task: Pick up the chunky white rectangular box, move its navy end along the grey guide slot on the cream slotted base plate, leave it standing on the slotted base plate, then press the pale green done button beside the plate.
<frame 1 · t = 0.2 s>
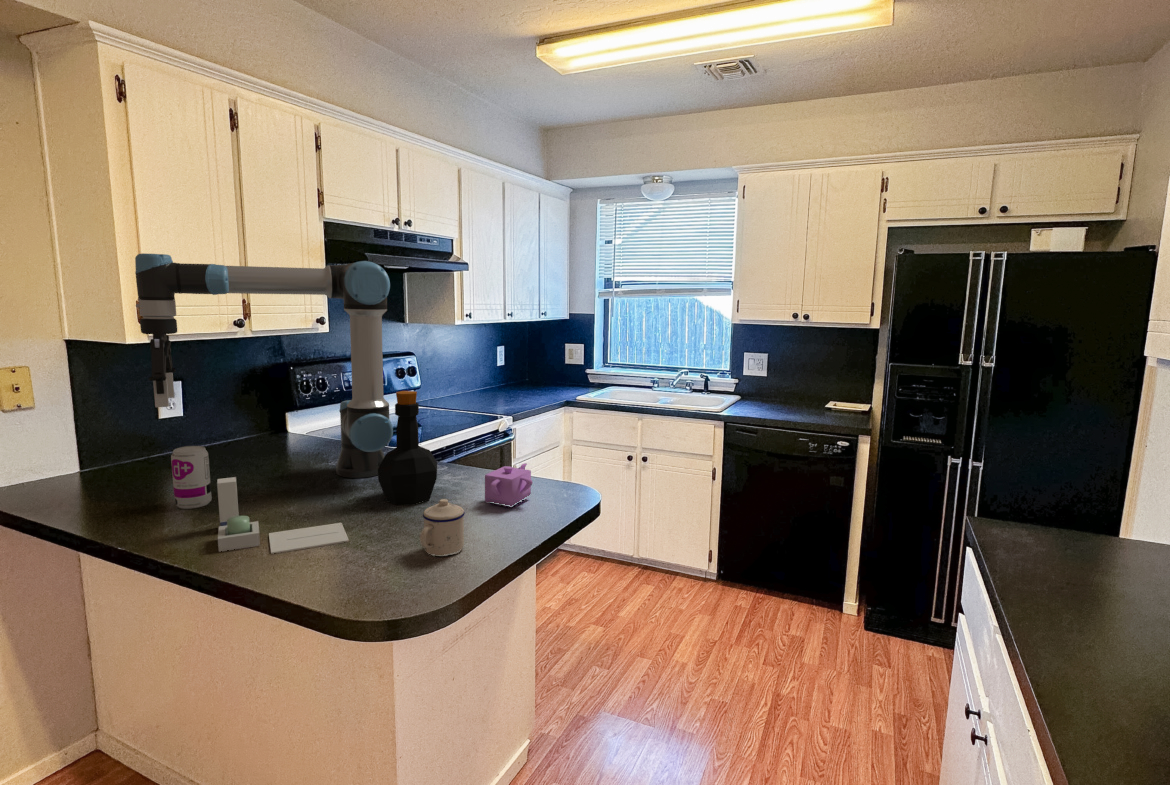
hand: (165, 402, 158), 28 cm above the countertop, fingers open, 13 cm apart
teacup with lid: (440, 552, 139), on the countertop
slotted base plate: (308, 538, 145), on the countertop
supplement can: (193, 505, 165), on the countertop
done button: (238, 527, 141), point 4 cm above the countertop, slide at 0.0 cm
button housing: (239, 542, 141), on the countertop
teapot: (511, 502, 173), on the countertop
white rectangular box: (230, 528, 149), on the countertop
bottle: (408, 498, 174), on the countertop
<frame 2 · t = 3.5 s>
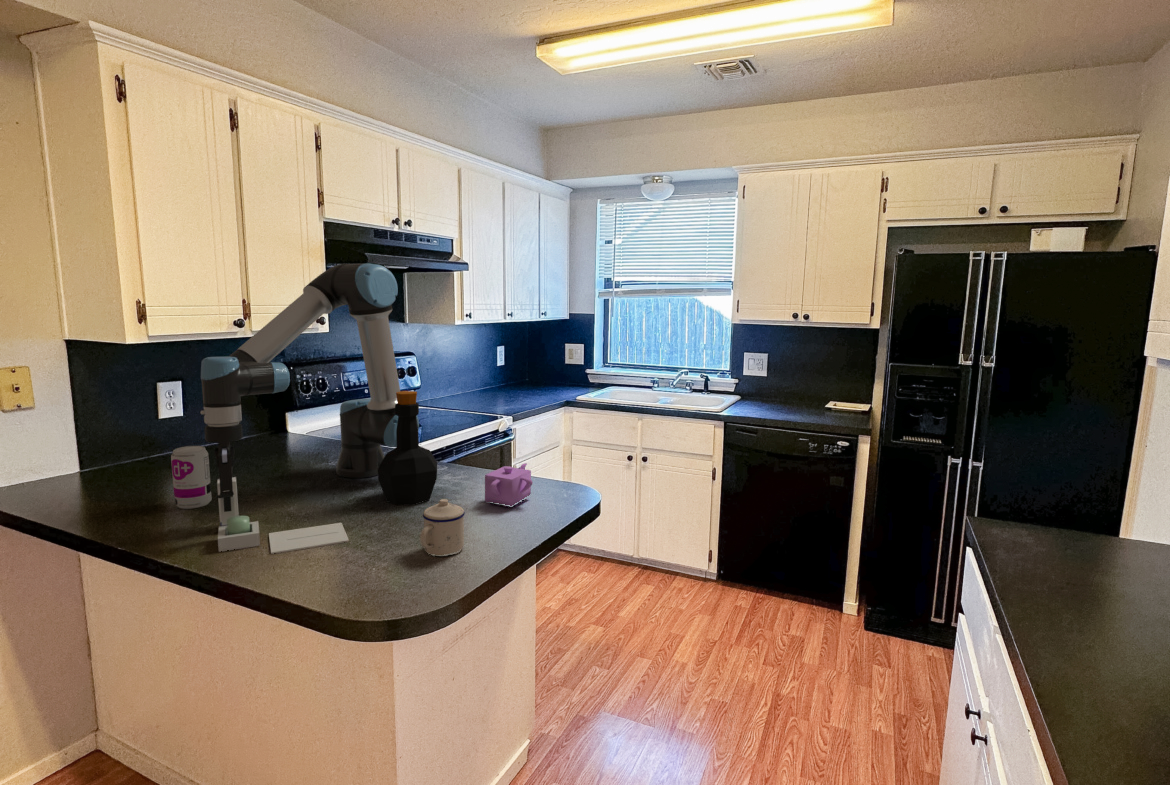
hand: (228, 518, 147), 3 cm above the countertop, fingers open, 8 cm apart
nothing on the countertop moved.
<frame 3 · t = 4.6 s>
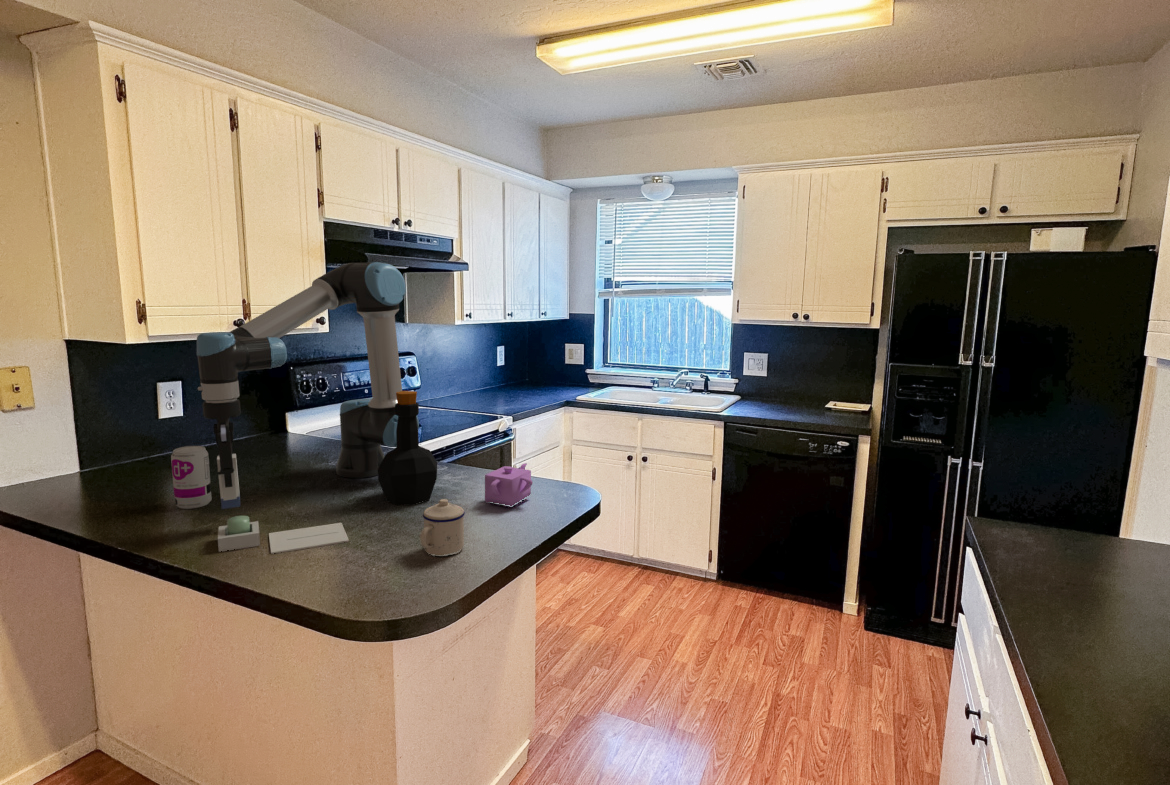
hand: (230, 496, 148), 8 cm above the countertop, fingers closed on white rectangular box, 4 cm apart
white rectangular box: (231, 505, 149), point 6 cm above the countertop, touching gripper
everything else where it was.
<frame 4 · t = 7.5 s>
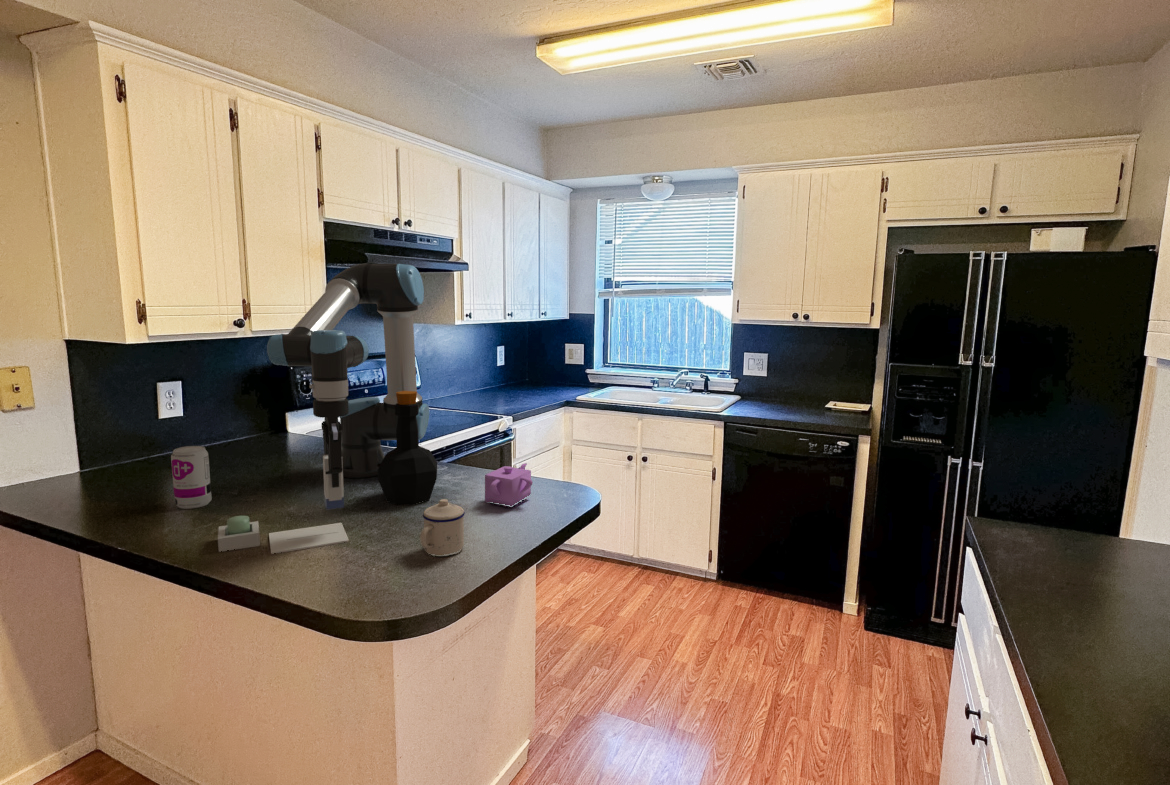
hand: (334, 496, 146), 9 cm above the countertop, fingers closed on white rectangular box, 4 cm apart
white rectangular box: (334, 506, 146), point 7 cm above the countertop, touching gripper
everything else where it was.
when the fingers open (2 cm above the countertop, at t = 10.4 s): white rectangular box stays where it is, resting on slotted base plate.
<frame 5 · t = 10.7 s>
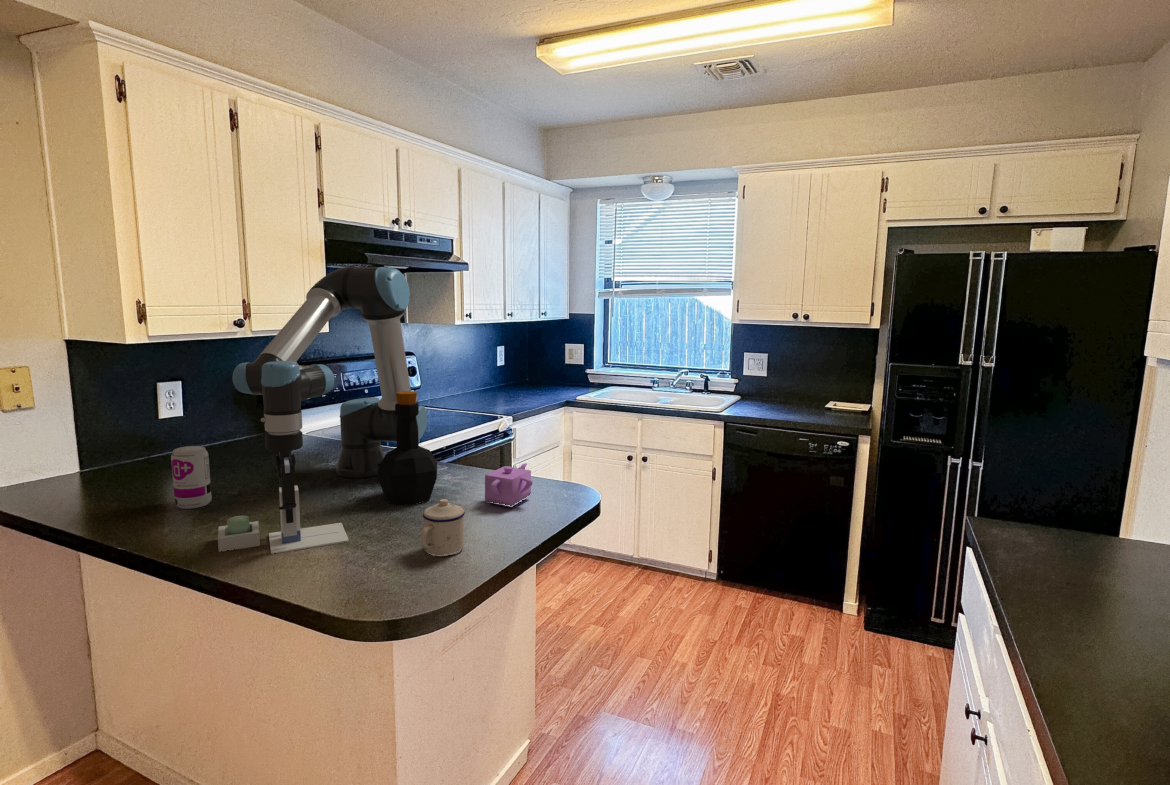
hand: (288, 529, 142), 3 cm above the countertop, fingers open, 7 cm apart
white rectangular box: (291, 539, 143), resting on slotted base plate
everything else where it was.
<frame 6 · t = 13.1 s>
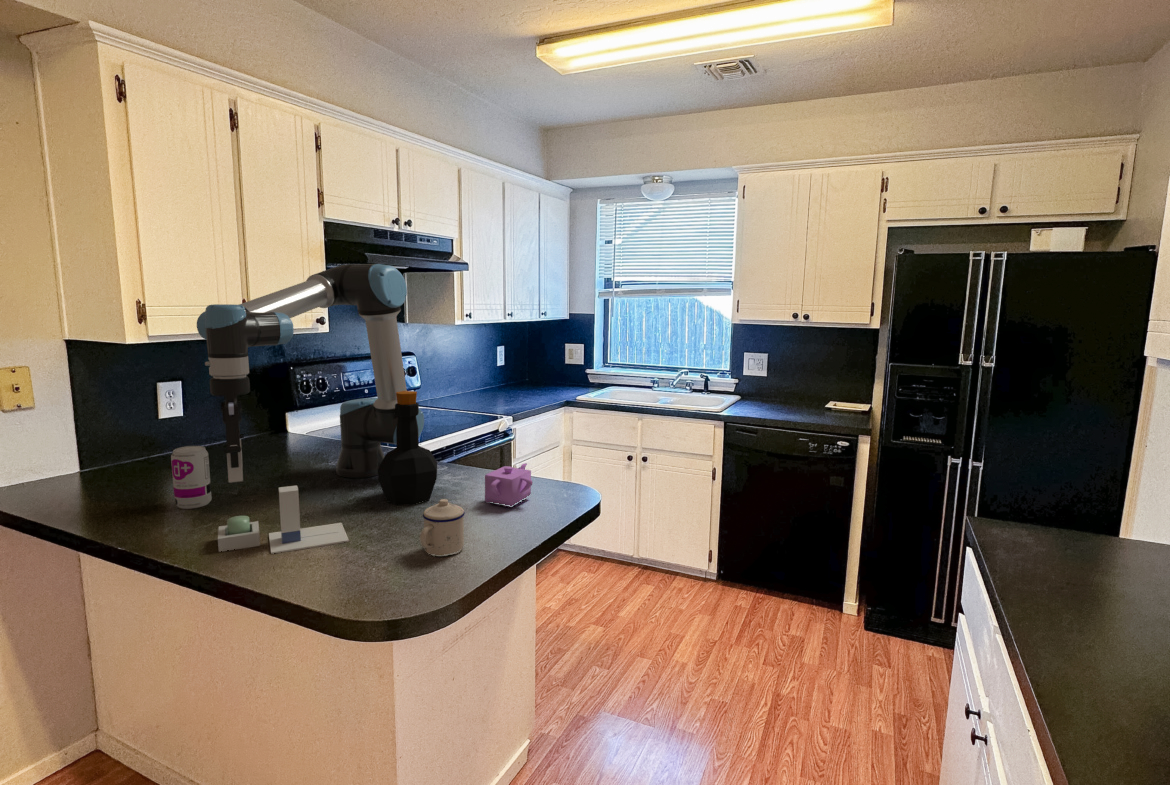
hand: (235, 474, 139), 16 cm above the countertop, fingers open, 11 cm apart
nothing on the countertop moved.
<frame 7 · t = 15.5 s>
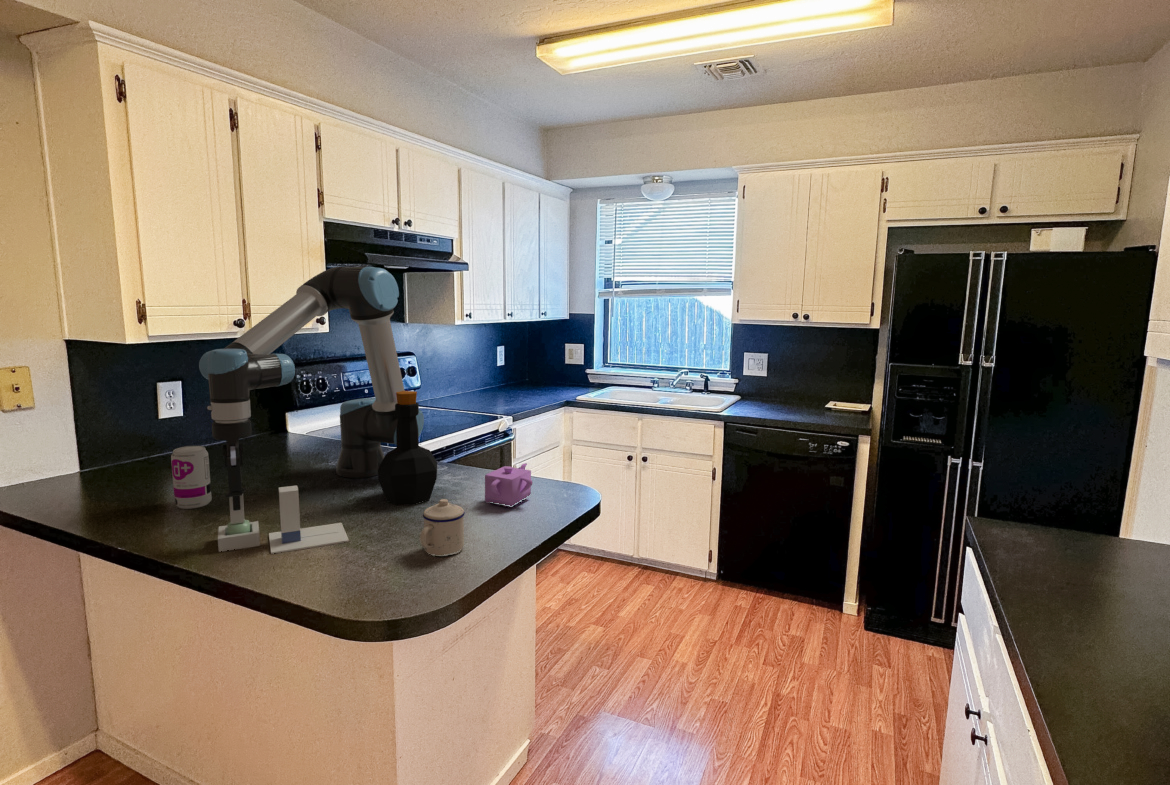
hand: (237, 522, 141), 5 cm above the countertop, fingers closed
done button: (238, 531, 141), point 3 cm above the countertop, slide at -0.9 cm, touching gripper
everything else where it was.
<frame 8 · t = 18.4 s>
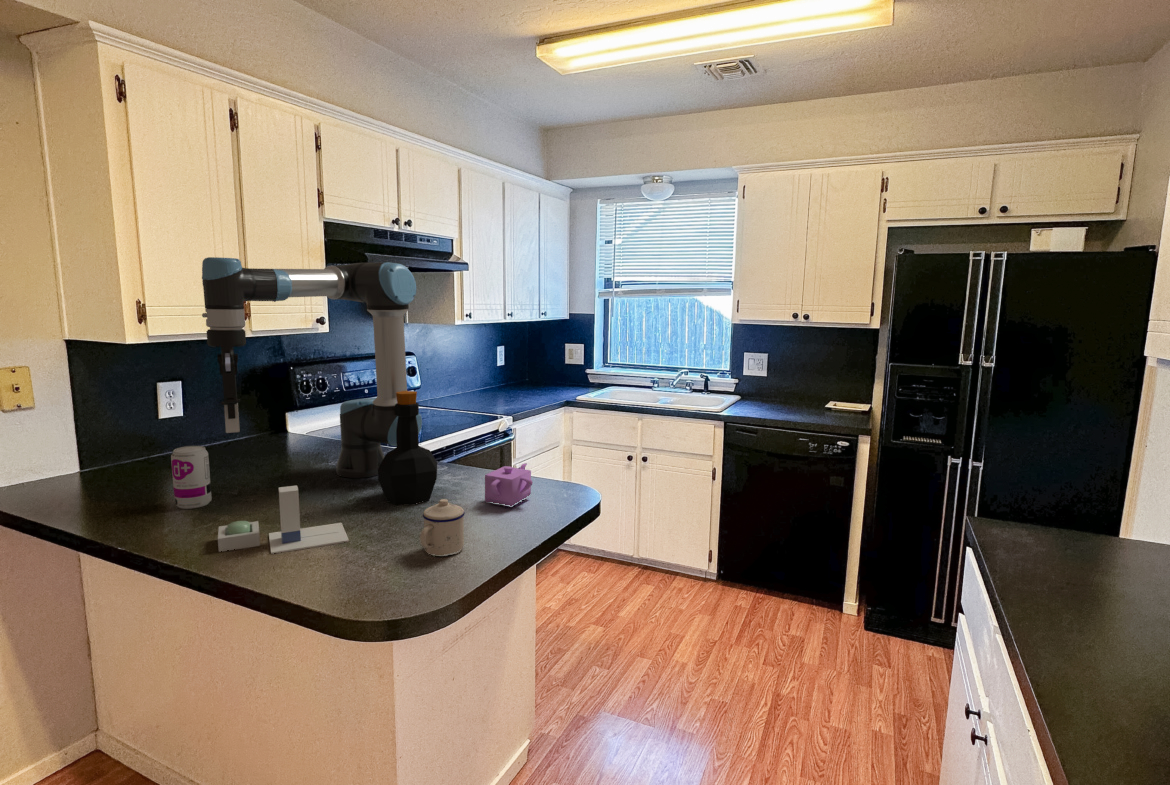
hand: (232, 431, 143), 24 cm above the countertop, fingers closed
done button: (239, 532, 141), point 2 cm above the countertop, slide at -1.2 cm
everything else where it was.
at the end: done button slide at -1.2 cm; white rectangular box inside the target area on the slotted base plate (3.7 cm from its centre), point 0.4 cm above the slotted base plate's base; the gripper is holding nothing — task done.
